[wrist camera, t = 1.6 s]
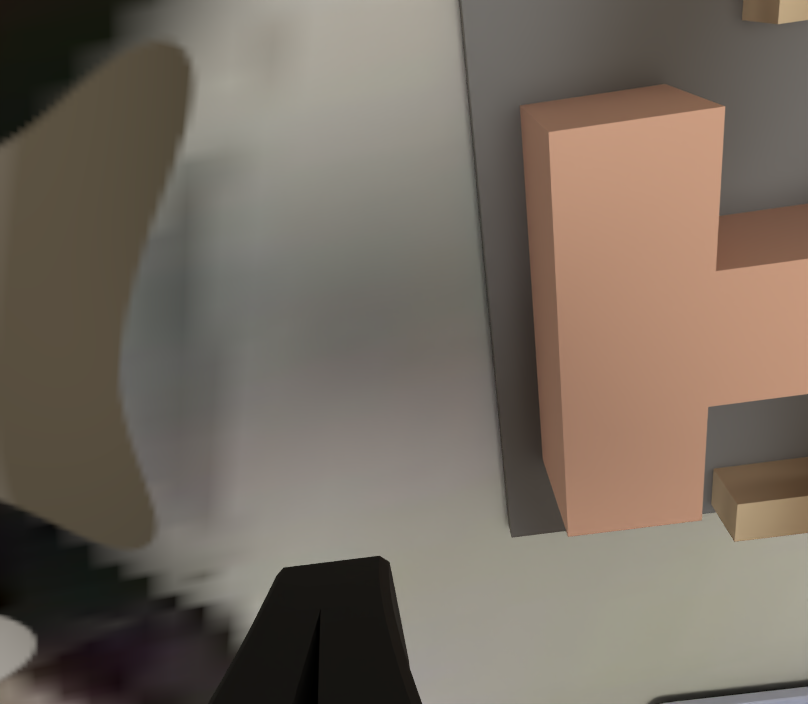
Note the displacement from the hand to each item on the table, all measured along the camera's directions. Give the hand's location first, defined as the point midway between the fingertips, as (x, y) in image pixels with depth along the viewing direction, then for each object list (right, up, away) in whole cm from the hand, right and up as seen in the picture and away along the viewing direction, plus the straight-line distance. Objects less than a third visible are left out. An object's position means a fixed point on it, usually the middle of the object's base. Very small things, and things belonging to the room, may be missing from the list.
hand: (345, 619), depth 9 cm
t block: (+8, +5, +8) cm, 12 cm away
